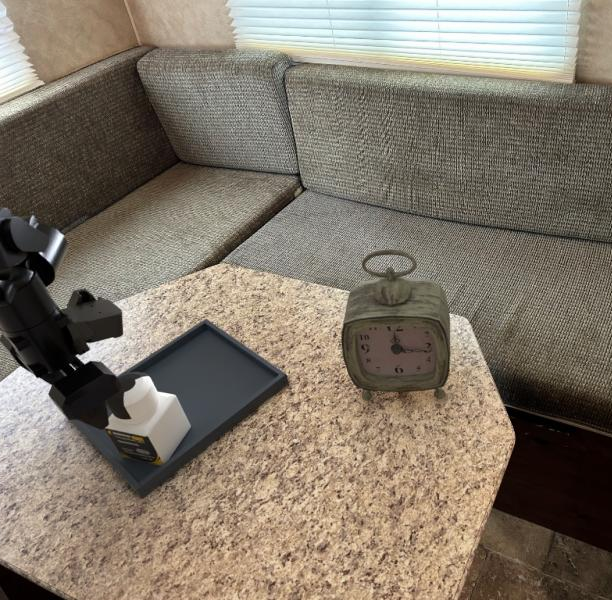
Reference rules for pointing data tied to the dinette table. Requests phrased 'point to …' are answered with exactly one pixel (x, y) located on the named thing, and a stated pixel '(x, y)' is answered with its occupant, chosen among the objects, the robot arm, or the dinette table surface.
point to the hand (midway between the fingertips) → (87, 408)
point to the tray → (195, 397)
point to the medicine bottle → (145, 420)
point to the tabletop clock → (396, 332)
